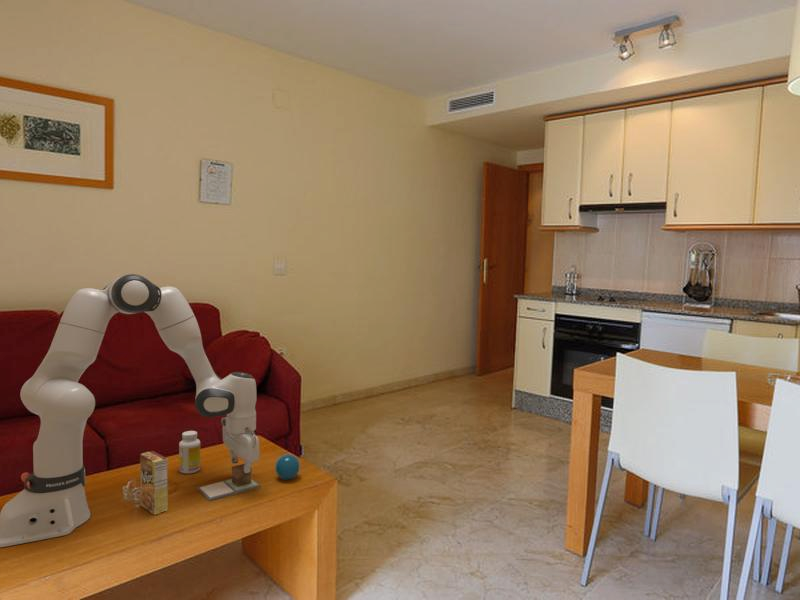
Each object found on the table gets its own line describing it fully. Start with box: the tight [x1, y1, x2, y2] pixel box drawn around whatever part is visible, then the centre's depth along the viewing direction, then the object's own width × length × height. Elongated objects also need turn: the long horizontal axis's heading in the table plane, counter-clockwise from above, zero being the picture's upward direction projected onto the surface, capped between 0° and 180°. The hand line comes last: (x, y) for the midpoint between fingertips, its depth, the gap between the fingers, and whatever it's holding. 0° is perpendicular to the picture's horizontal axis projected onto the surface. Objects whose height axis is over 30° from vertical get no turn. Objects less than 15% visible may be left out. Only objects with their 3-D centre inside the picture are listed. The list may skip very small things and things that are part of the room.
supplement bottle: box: [178, 430, 202, 475], centre depth 179 cm, size 7×7×13 cm
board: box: [197, 478, 261, 502], centre depth 167 cm, size 16×10×1 cm, turn 130°
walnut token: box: [231, 463, 252, 487], centre depth 169 cm, size 4×4×5 cm
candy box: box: [139, 450, 169, 516], centre depth 152 cm, size 9×4×15 cm, turn 50°
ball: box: [274, 453, 301, 481], centre depth 175 cm, size 8×8×8 cm
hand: (240, 467), depth 168 cm, fingers open, 8 cm apart
